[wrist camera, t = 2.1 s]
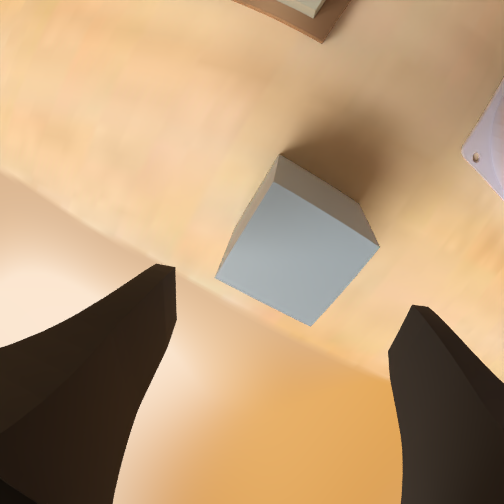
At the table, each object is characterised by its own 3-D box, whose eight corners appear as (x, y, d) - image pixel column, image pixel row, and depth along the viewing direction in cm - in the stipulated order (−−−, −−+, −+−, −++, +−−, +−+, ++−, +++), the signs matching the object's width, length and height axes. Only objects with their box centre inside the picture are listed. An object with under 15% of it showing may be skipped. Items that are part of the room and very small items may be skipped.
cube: (358, 203, 15) (379, 247, 11) (308, 269, 17) (310, 326, 13) (279, 153, 14) (273, 181, 10) (234, 228, 16) (214, 277, 12)
